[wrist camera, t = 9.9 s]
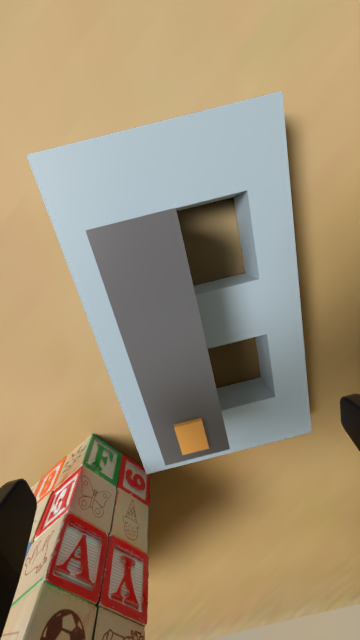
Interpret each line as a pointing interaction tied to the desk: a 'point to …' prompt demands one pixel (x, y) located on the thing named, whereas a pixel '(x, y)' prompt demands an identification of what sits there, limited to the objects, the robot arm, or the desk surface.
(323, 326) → the desk surface
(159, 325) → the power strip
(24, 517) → the robot arm
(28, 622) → the stack of blocks
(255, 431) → the keyhole board
